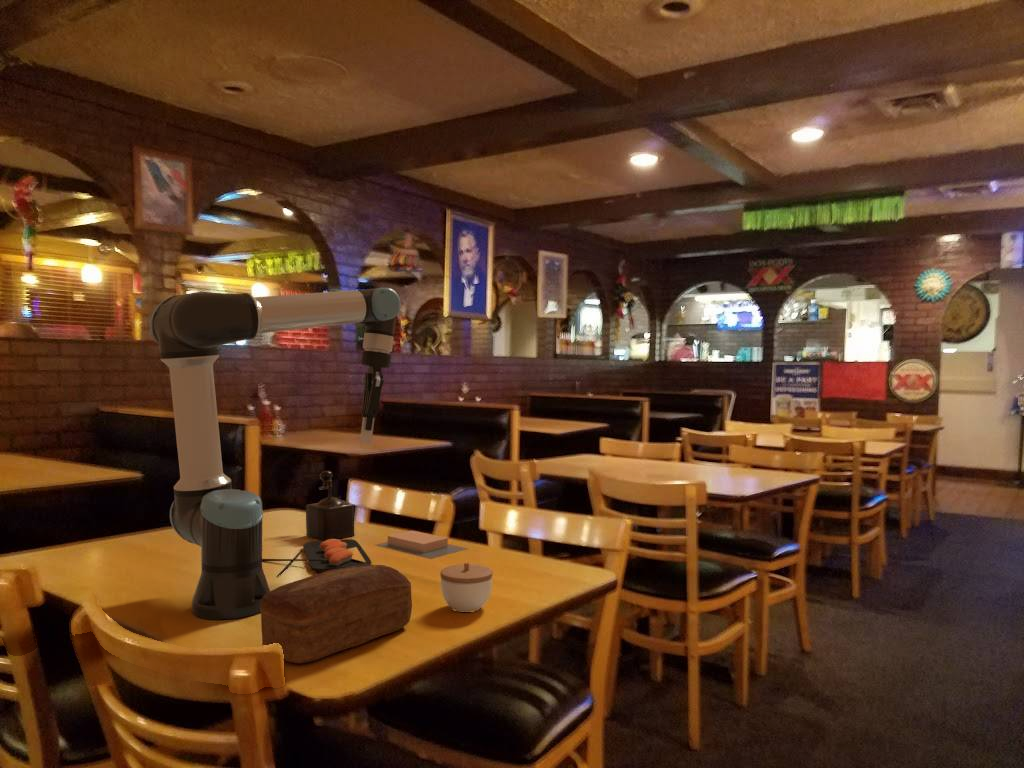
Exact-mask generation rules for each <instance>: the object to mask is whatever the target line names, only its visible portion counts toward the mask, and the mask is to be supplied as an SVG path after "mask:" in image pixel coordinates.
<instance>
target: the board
mask: <svg viewBox="0 0 1024 768" xmlns="http://www.w3.org/2000/svg"><path fill="white" fill-rule="evenodd" d="M375 546H376V547H381V548H385V549H389V550H393V551H398V552H401V553H405V554H409V555H413V556H418V557H422V558H426V559H430V560H433V559H436V558H440V557H443V556H446V555H447V556H448V555H451V554H455V553H458V552H459V553H460V552H461V551H462V552H463V551H465V550H468V549H469V548H468V547H463V546H459V545H455V544H449V543H448V547H446V548H442V549H438V550H434V551H430V552H426V553H420V552H416V551H412V550H408V549H403V548H399V547H395V546H391V545H388V541H385V542H381V543H377V544H375Z"/></svg>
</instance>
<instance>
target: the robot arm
mask: <svg viewBox="0 0 1024 768" xmlns="http://www.w3.org/2000/svg"><path fill="white" fill-rule="evenodd" d="M400 310H401V299H400V296H399V295H398V293H397V292H396V291H395V290H394V289H393V288H389V287H376V288H369V289H357V290H356V289H354V290H343V289H335V288H333V289H330V290H328V291H326V292H312V293H311V292H310V293H299V294H298V293H297V294H296V293H295V294H285V295H283V294H281V295H269V296H255V297H254V296H253V295H252V294H250V293H248V292H242V293H224V292H223V293H222V292H212V291H211V292H207V291H198V292H192V293H185V294H177V295H172V296H170V297H167V298H166V299H164V300H162V301H161V302H159V304H157V306H155V308H154V309H153V311H152V314H151V315H150V319H149V320H150V321H149V328H150V332H151V335H152V337H153V338H154V340H155V342H157V344H158V348H159V349H158V350H159V356H160V358H159V359H160V361H161V362H162V363H164V364H165V365H166V366H167V367H168V368H169V378H170V387H171V396H172V408H173V409H172V410H173V417H174V427H175V436H176V448H177V456H178V457H177V458H178V466H179V467H178V468H179V480H177V482H176V483H175V484H174V485H173V495H174V500H173V502H172V503H171V506H170V508H169V522H170V524H171V526H172V528H173V530H174V531H175V532H176V533H177V534H178V536H179V537H180V538H182V540H184V541H186V542H188V543H190V544H193V545H196V546H198V547H201V553H200V555H201V560H200V561H201V570H200V571H201V573H200V576H199V580H198V582H197V585H196V588H195V590H194V591H195V592H194V594H193V597H192V601H191V613H192V614H193V615H194V616H196V617H198V618H201V619H207V620H231V619H240V618H245V617H250V616H254V615H257V614H259V613H260V614H261V611H260V603H261V599H262V598H263V596H264V595H266V594H267V593H268V592H270V591H271V589H270V587H269V584H268V581H267V578H266V575H265V572H264V569H263V561H262V559H263V517H264V509H263V502H262V499H261V497H260V496H259V495H258V494H257V493H255V492H252V491H249V490H241V489H235V488H233V485H232V479H231V478H230V477H229V476H228V475H226V474H225V473H224V470H223V469H224V468H223V460H222V450H221V448H222V447H221V439H220V437H221V436H220V429H219V427H220V426H219V417H218V415H219V414H218V408H217V397H216V395H217V394H216V388H215V387H216V386H215V375H214V363H215V362H216V361H217V360H218V359H219V357H220V350H219V349H220V348H219V347H220V346H224V345H226V344H227V345H228V344H232V343H236V342H240V341H247V340H254V339H256V337H258V335H259V334H266V333H275V332H283V331H285V332H286V331H294V330H303V329H304V330H305V329H310V328H311V329H312V328H320V327H329V326H339V325H348V324H349V325H350V324H353V325H359V326H363V327H365V328H364V332H363V333H364V335H363V341H362V348H363V349H364V350H363V351H362V352H361V359H360V365H362V366H365V367H368V369H367V372H365V375H364V378H363V382H364V383H363V394H362V395H363V398H362V406H361V407H362V408H361V417H362V422H361V429H360V435H359V437H360V439H359V443H362V444H372V442H373V432H374V426H375V419H376V417H377V416H378V411H379V405H380V399H381V393H382V388H383V385H384V374H382V372H383V371H382V369H390V368H391V366H392V365H391V364H392V354H391V353H392V352H393V346H394V345H396V341H395V340H394V337H395V331H396V324H397V316H398V314H399V313H400Z"/></svg>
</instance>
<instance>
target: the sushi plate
mask: <svg viewBox="0 0 1024 768" xmlns="http://www.w3.org/2000/svg"><path fill="white" fill-rule="evenodd" d="M353 548H356V549H357V551H358V553H360V554H359V555H360V556H361V557H362V558H363V560H364V561H362V560H358V559H355V558H353V555H354V552H353V551H351V550H349V549H353ZM303 551H304V552H305V556H306V558H305V559H304V558H303V559H300V558H298V557H299V555H300V554H301V553H302V552H303ZM262 562H288V564H286V566H285V567H284V568H283V569H282V570H281V571H280V572H279V573H278V574H277V575H276V576H279V575H280V576H282V575H283V574H284V573H285V572H286V571H287V570H288V569H289V567H290V566H291V565H292V564H293V562H308V563H309V565H310V567H311V568H312V570H315V571H328V570H333V569H340V568H345V567H351V566H361V565H366V564H369V565H372V560H371V558H370V557H369V556H368V554H367V553H366V551H365V550H364V549H363V548H362V546H361V544H360V543H359V542H358V541H357V540H355V539H351V538H350V539H349V538H343V539H329V540H326V541H320V540H317V541H308V542H304V544H303V547H302V548H301V549H300V551H299V552H297V554H296V555H295V556H294V557H293V558H262ZM286 569H287V570H286ZM285 570H286V571H285ZM284 571H285V572H284ZM283 572H284V573H283ZM282 573H283V574H282ZM281 574H282V575H281ZM280 576H279V577H280Z"/></svg>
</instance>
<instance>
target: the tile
mask: <svg viewBox="0 0 1024 768" xmlns="http://www.w3.org/2000/svg"><path fill="white" fill-rule="evenodd" d="M448 540H449V539H448V537H443V536H440V535H435V534H430V533H426V532H425V533H424V532H421V531H416V530H410V531H409V530H408V531H405V532H399V533H394V534H390V535H387V542H388V545H391V546H395V547H399V548H403V549H408V550H412V551H416V552H420V553H426V552H430V551H434V550H438V549H442V548H446V547H448V544H449V542H448Z"/></svg>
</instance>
